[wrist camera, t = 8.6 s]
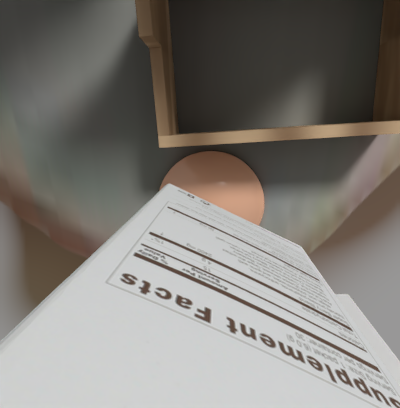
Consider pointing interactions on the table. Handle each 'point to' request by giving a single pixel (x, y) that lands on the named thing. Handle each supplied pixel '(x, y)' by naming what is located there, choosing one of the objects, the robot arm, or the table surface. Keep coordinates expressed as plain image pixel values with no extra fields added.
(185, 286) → the supplement box
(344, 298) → the robot arm
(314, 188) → the table surface
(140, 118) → the table surface
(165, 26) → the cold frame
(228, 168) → the tan round disc
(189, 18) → the table surface
